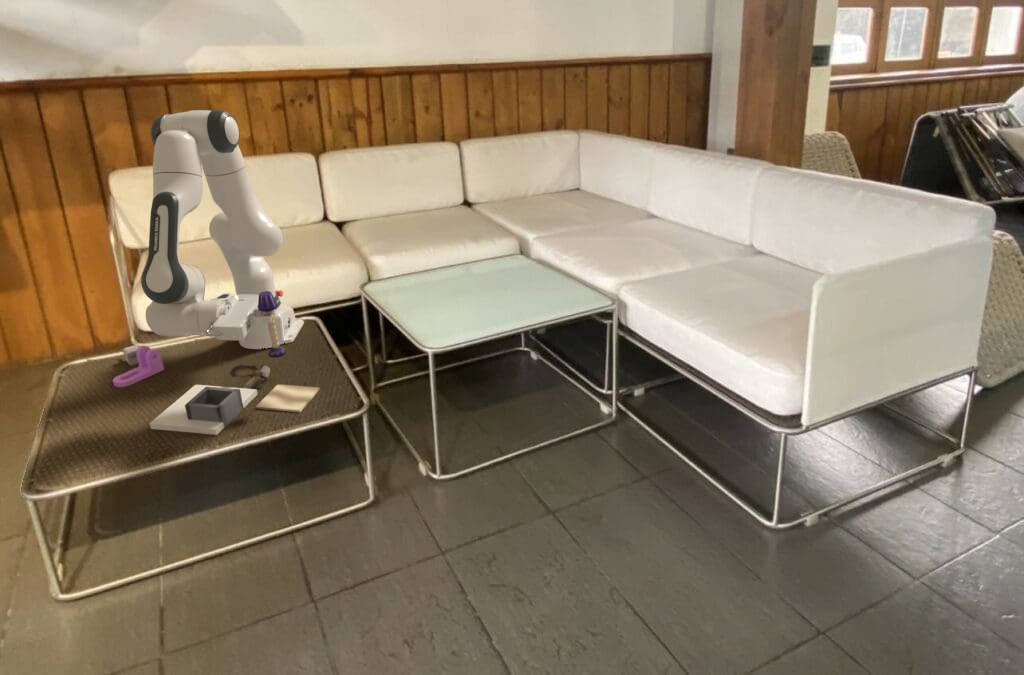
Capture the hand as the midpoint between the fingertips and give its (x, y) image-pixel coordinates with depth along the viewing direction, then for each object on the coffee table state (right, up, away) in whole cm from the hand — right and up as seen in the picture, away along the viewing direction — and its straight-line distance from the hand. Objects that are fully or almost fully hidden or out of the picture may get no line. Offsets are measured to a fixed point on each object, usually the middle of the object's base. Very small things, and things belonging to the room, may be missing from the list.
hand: (273, 315), depth 184 cm
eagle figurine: (-11, -18, +18) cm, 28 cm away
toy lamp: (-1, -10, +4) cm, 11 cm away
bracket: (-45, -17, +24) cm, 54 cm away
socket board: (-19, -24, +6) cm, 31 cm away
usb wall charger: (-51, -12, +33) cm, 62 cm away
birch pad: (+1, -21, +10) cm, 24 cm away
